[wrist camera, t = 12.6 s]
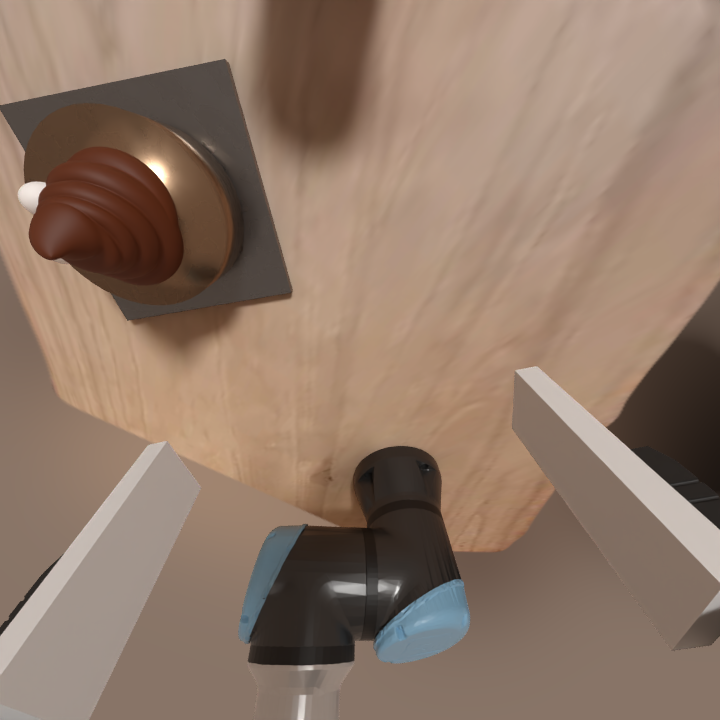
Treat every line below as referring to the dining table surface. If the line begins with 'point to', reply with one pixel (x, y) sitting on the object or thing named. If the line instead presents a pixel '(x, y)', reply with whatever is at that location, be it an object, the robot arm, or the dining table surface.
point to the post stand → (172, 178)
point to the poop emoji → (106, 217)
